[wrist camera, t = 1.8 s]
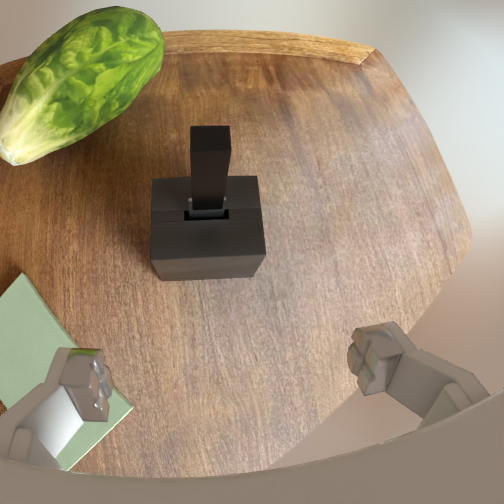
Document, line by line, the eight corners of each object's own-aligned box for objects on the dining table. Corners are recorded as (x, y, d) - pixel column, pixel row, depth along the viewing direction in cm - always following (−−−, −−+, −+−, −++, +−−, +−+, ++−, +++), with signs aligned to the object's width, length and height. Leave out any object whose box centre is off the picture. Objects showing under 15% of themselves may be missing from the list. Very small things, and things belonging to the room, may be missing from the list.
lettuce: (1, 164, 35) (-48, 98, 21) (119, 55, 44) (108, -18, 30) (55, 213, 34) (-4, 141, 20) (184, 84, 43) (185, -1, 29)
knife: (219, 249, 35) (236, 150, 18) (191, 250, 35) (184, 151, 18) (218, 232, 36) (234, 125, 19) (191, 233, 35) (185, 125, 18)
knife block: (252, 276, 36) (266, 255, 28) (161, 281, 34) (150, 260, 27) (246, 210, 38) (257, 175, 31) (161, 213, 36) (152, 178, 29)
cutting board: (134, 407, 29) (131, 408, 28) (66, 472, 25) (62, 475, 24) (26, 274, 32) (21, 272, 30) (-30, 342, 27) (-35, 341, 26)
